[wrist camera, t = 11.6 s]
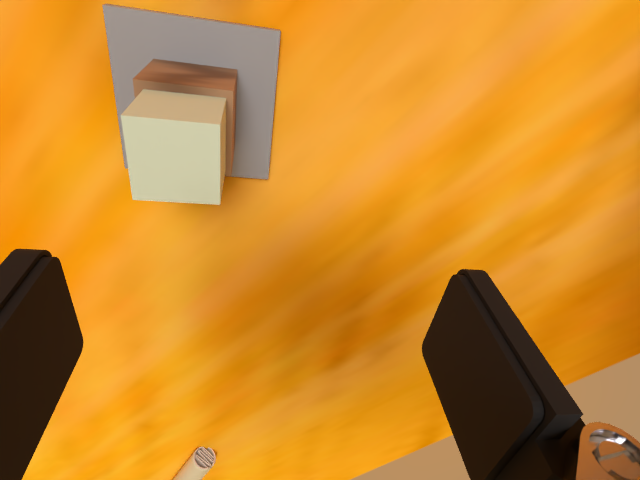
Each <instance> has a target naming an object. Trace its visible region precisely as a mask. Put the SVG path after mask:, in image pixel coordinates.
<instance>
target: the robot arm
mask: <svg viewBox="0 0 640 480" xmlns="http://www.w3.org/2000/svg"><path fill="white" fill-rule="evenodd" d="M82 348H83V337H82V333H81V330H80V327H79V323H78V320H77V317H76V313H75V310H74V306H73V303H72V300H71V296H70V293H69V290H68V286H67V283H66V280H65V276H64V273H63V269H62V266H61V263H60V260H59V259H58V258H57V257H52V255H51V253H50V252H49V251H47V250H33V249H16V250H14V251H12V252H11V253H10V254H9V256H8V257H7V258H6V259H5V260H4V261H3V262H2V264H1V265H0V480H22V477H23V475H24V473H25V471H26V469H27V467H28V465H29V463H30V460H31V458H32V456H33V454H34V452H35V450H36V448H37V446H38V444H39V441H40V439H41V437H42V435H43V433H44V431H45V429H46V427H47V424H48V422H49V420H50V418H51V416H52V414H53V412H54V410H55V407H56V405H57V403H58V401H59V399H60V397H61V395H62V393H63V391H64V388H65V386H66V384H67V382H68V380H69V378H70V376H71V374H72V371H73V369H74V367H75V365H76V363H77V361H78V359H79V357H80V354H81V352H82ZM422 353H423V357H424V360H425V362H426V365H427V367H428V370H429V373H430V375H431V378H432V380H433V383H434V386H435V388H436V391H437V394H438V396H439V399H440V401H441V404H442V407H443V409H444V412H445V414H446V417H447V420H448V422H449V425H450V427H451V430H452V433H453V435H454V438H455V441H456V443H457V446H458V448H459V451H460V453H461V456H462V459H463V461H464V464H465V467H466V469H467V472H468V474H469V477H470V479H471V480H640V443H639V442H638V441H637V440H636V439H635V438H634V437H632V436H631V435H629V434H628V433H626V432H625V431H623V430H621V429H619V428H617V427H615V426H612V425H610V424H606V423H601V422H594V423H589V424H587V425H585V424H584V422H583V421H582V419H581V418H580V417H581V416H582V415H583V413H582V412H581V410H580V409H579V407H578V406H577V404H576V403H575V401H574V400H573V398H572V397H571V396H570V394H569V393H568V391H567V390H566V388H565V387H564V385H563V384H562V382H561V381H560V379H559V378H558V377H557V375H556V374H555V372H554V371H553V369H552V368H551V366H550V365H549V363H548V362H547V360H546V359H545V357H544V356H543V355H542V353H541V352H540V350H539V349H538V347H537V346H536V344H535V343H534V341H533V340H532V338H531V337H530V335H529V334H528V333H527V331H526V330H525V328H524V327H523V325H522V324H521V322H520V321H519V319H518V318H517V316H516V315H515V314H514V312H513V311H512V309H511V308H510V306H509V305H508V303H507V302H506V300H505V299H504V297H503V296H502V294H501V293H500V292H499V290H498V289H497V287H496V286H495V284H494V283H493V281H492V280H491V278H490V277H489V275H488V274H487V273H486V272H485V271H483V270H468V269H462V270H460V271H458V273H457V275H456V274H455V275H453V276H452V277H451V279H450V281H449V283H448V285H447V288H446V290H445V292H444V295H443V297H442V299H441V302H440V304H439V306H438V309H437V311H436V313H435V315H434V318H433V320H432V322H431V325H430V327H429V329H428V332H427V334H426V336H425V339H424V341H423V344H422Z"/></svg>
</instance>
